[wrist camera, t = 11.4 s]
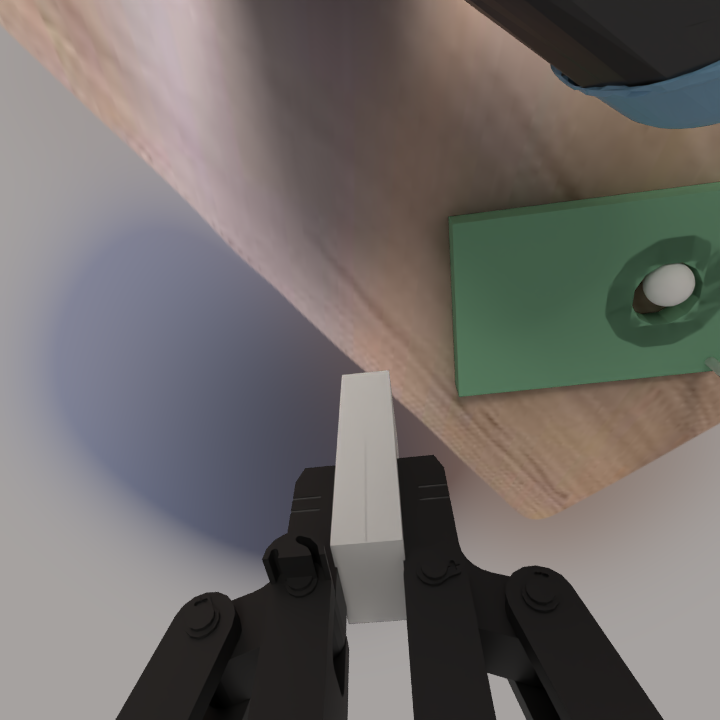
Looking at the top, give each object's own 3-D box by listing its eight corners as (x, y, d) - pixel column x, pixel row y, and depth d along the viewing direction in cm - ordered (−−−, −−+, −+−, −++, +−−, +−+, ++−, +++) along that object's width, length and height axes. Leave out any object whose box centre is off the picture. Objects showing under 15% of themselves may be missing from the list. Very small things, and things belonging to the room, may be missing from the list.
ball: (643, 260, 38) (698, 256, 36) (641, 266, 41) (692, 262, 39) (643, 305, 38) (698, 303, 36) (641, 308, 41) (691, 306, 39)
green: (448, 216, 38) (488, 290, 26) (758, 176, 36) (956, 234, 24) (455, 384, 45) (488, 501, 33) (711, 357, 44) (845, 470, 31)
